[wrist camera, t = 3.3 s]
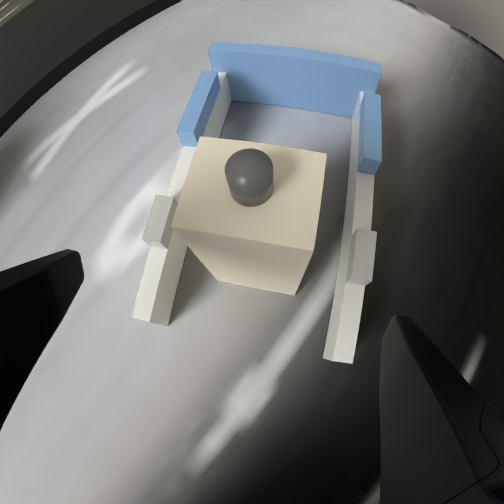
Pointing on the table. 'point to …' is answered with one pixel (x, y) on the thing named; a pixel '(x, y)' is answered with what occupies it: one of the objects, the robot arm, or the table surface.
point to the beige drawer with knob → (252, 211)
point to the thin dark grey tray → (58, 44)
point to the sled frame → (289, 95)
